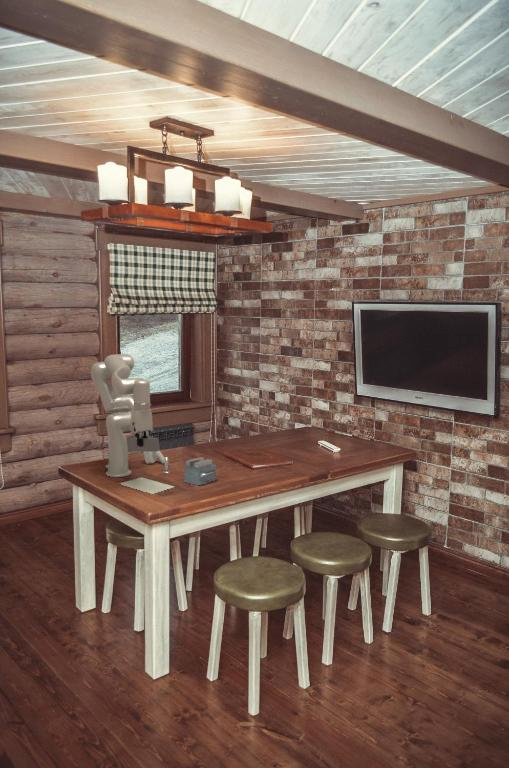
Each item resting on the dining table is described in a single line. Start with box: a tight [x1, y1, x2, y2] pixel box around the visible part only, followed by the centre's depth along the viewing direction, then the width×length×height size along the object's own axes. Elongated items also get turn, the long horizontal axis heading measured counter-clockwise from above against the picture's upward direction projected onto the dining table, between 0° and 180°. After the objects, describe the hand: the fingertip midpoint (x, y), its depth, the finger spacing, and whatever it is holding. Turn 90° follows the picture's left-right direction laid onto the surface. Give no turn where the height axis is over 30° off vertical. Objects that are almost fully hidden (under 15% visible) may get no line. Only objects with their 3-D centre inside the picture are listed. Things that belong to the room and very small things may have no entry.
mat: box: [118, 477, 175, 495], centre depth 281 cm, size 24×14×1 cm, turn 51°
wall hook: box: [142, 450, 165, 465], centre depth 322 cm, size 8×10×10 cm
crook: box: [126, 435, 161, 452], centre depth 278 cm, size 20×9×6 cm, turn 51°
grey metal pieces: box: [162, 456, 219, 486], centre depth 295 cm, size 32×12×10 cm, turn 51°
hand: (142, 445), depth 276 cm, fingers closed on crook, 2 cm apart
